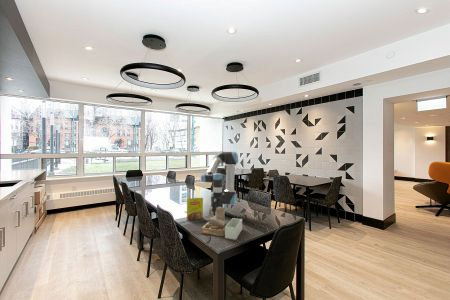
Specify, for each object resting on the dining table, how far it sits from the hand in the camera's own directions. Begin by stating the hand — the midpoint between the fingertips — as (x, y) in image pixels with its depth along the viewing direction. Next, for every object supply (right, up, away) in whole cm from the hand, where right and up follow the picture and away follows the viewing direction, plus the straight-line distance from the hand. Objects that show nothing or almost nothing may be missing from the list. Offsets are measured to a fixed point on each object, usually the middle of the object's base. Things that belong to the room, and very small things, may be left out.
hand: (217, 216), depth 181 cm
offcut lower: (-2, -11, -5) cm, 12 cm away
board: (0, -10, 0) cm, 10 cm away
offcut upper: (-2, -9, -6) cm, 11 cm away
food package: (-23, -10, +25) cm, 35 cm away
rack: (-1, -10, -4) cm, 11 cm away
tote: (+14, -11, -9) cm, 20 cm away
